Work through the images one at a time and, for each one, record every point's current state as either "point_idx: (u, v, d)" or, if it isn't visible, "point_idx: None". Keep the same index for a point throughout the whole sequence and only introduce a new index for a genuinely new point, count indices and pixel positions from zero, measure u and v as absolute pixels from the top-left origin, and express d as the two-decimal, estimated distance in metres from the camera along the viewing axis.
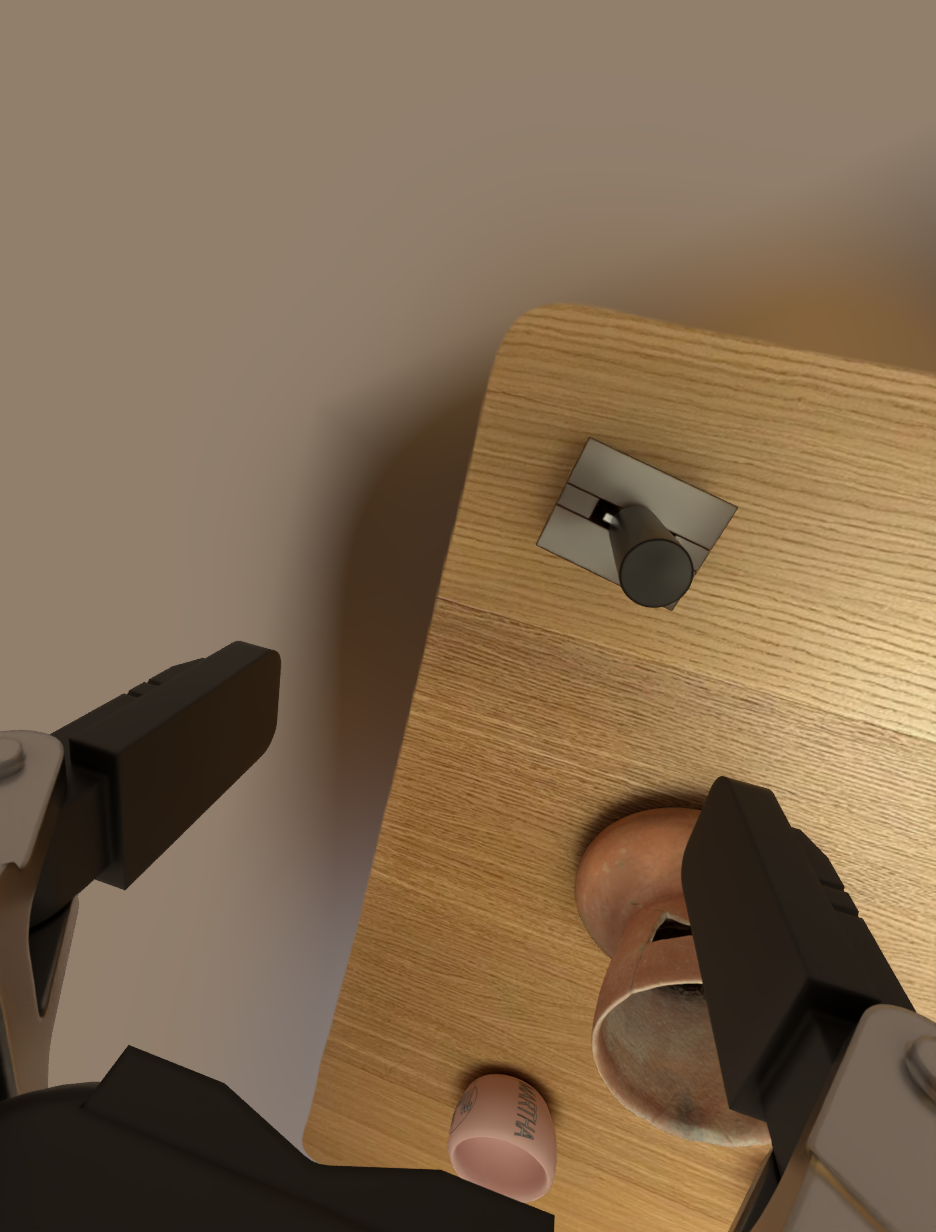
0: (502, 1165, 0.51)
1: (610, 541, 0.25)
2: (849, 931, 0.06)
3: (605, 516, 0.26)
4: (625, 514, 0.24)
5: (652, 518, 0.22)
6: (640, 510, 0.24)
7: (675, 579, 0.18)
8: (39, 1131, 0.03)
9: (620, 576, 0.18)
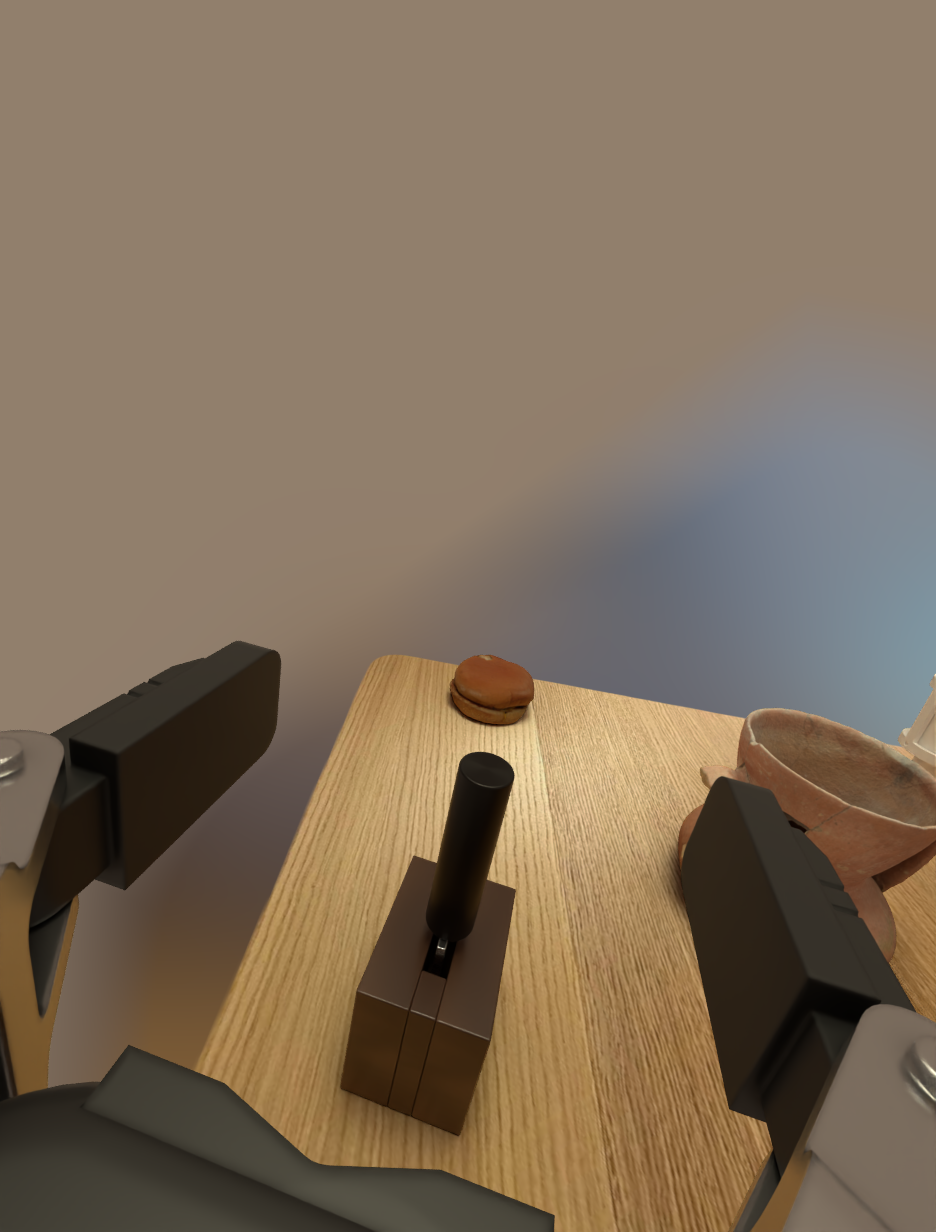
0: None
1: (466, 910, 0.24)
2: (849, 931, 0.06)
3: (441, 947, 0.24)
4: (437, 901, 0.24)
5: (439, 852, 0.24)
6: (431, 892, 0.25)
7: (487, 759, 0.23)
8: (40, 1131, 0.03)
9: (496, 787, 0.22)
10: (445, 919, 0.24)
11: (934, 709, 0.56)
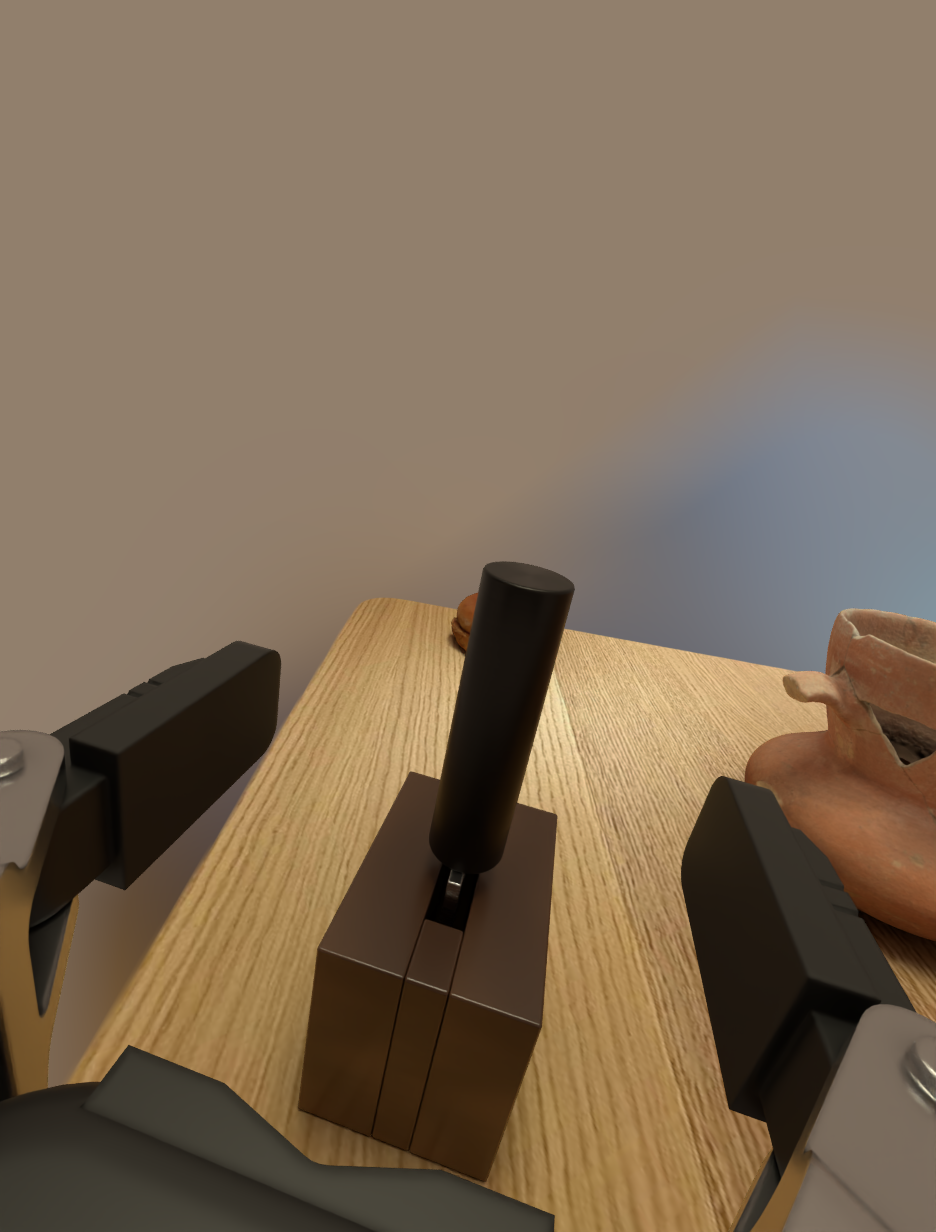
0: None
1: (494, 821, 0.15)
2: (849, 931, 0.06)
3: (454, 882, 0.15)
4: (448, 807, 0.15)
5: (450, 732, 0.15)
6: (438, 797, 0.16)
7: (527, 568, 0.14)
8: (39, 1130, 0.03)
9: (549, 591, 0.13)
10: (460, 836, 0.15)
11: None
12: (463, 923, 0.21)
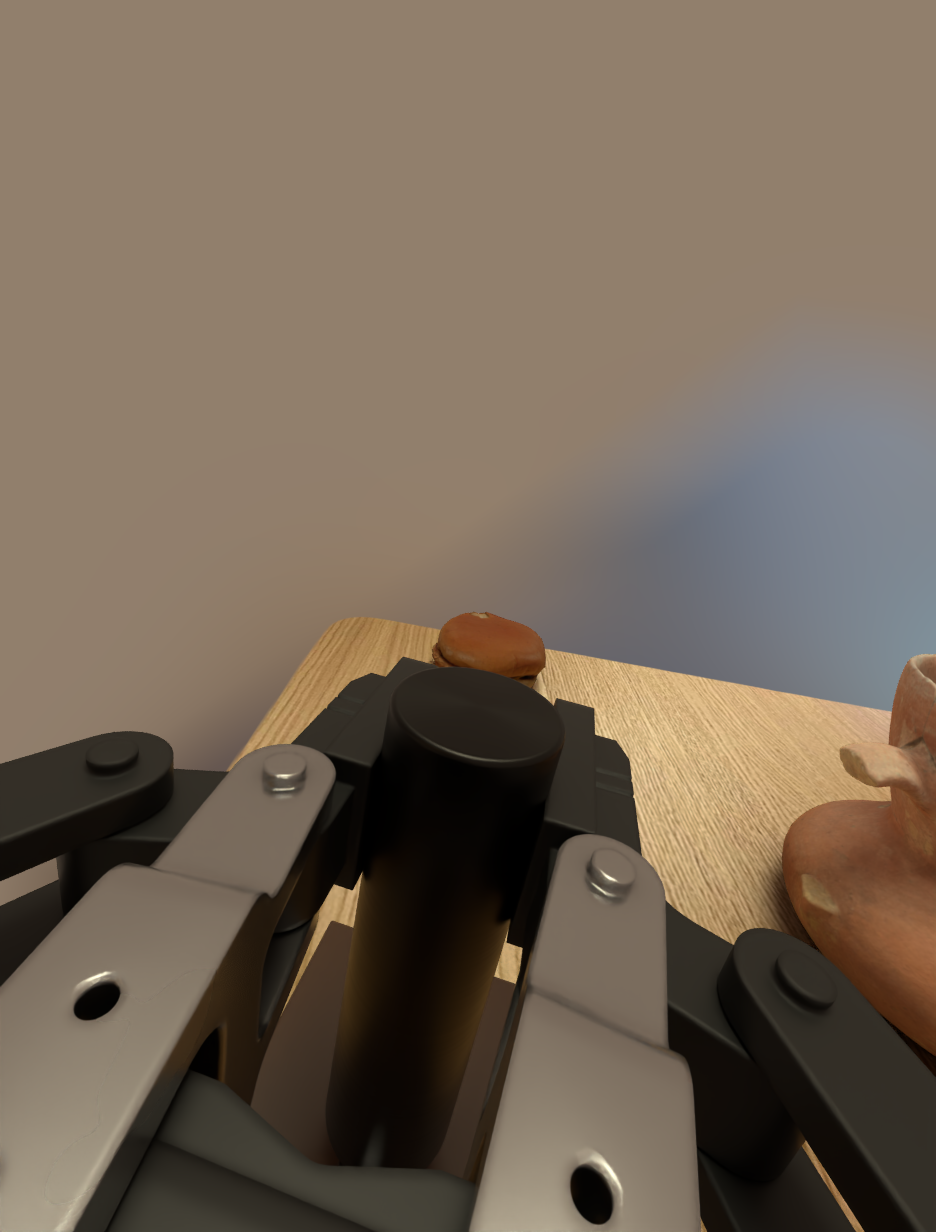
0: None
1: (424, 1116, 0.09)
2: (615, 804, 0.08)
3: None
4: (345, 1086, 0.09)
5: None
6: (334, 1050, 0.09)
7: (479, 683, 0.08)
8: None
9: (512, 761, 0.06)
10: (366, 1136, 0.09)
11: None
12: None
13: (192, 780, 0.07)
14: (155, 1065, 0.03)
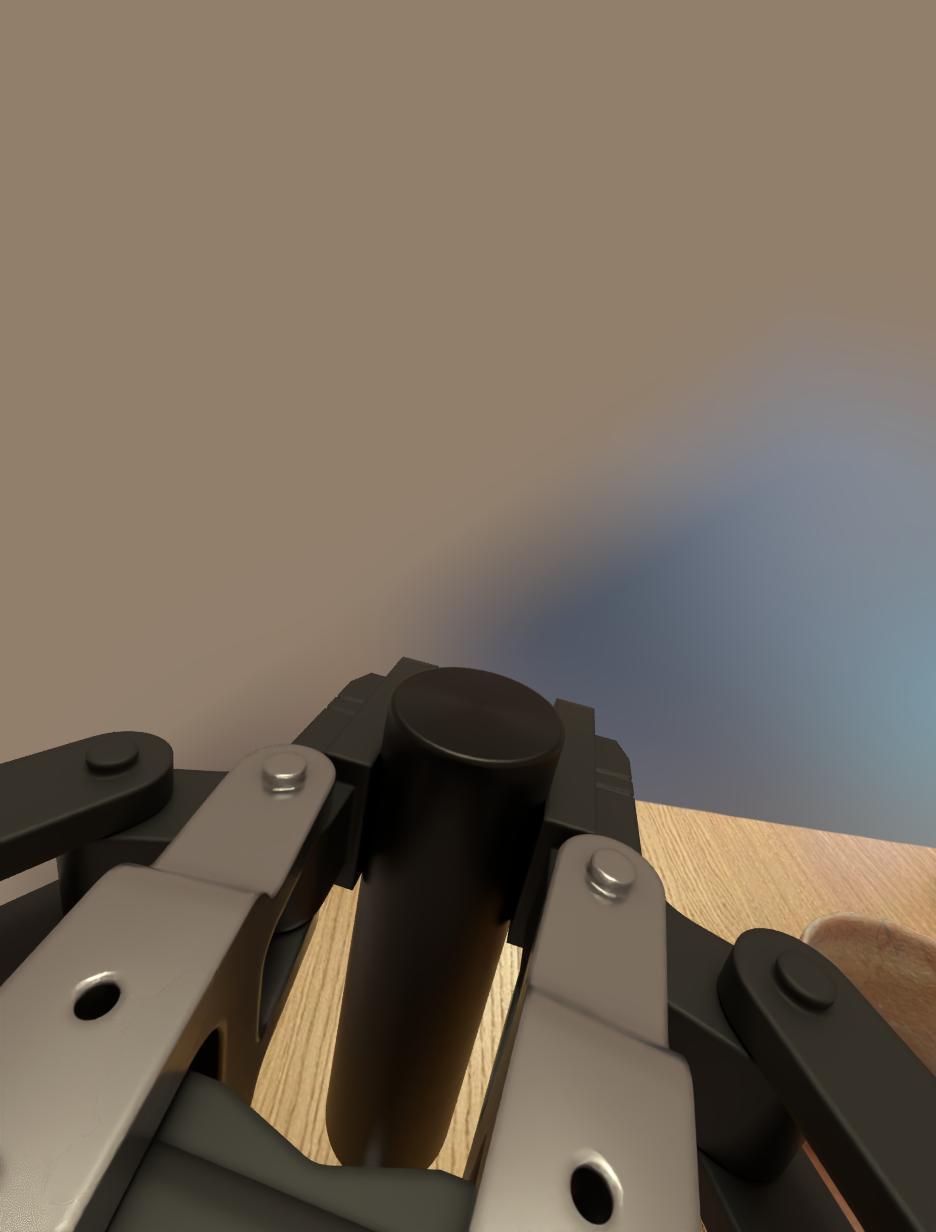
0: None
1: (424, 1117, 0.09)
2: (616, 804, 0.08)
3: None
4: (345, 1087, 0.09)
5: None
6: (334, 1051, 0.09)
7: (478, 683, 0.08)
8: None
9: (511, 762, 0.06)
10: (367, 1137, 0.09)
11: None
12: None
13: (191, 780, 0.07)
14: (155, 1065, 0.03)
